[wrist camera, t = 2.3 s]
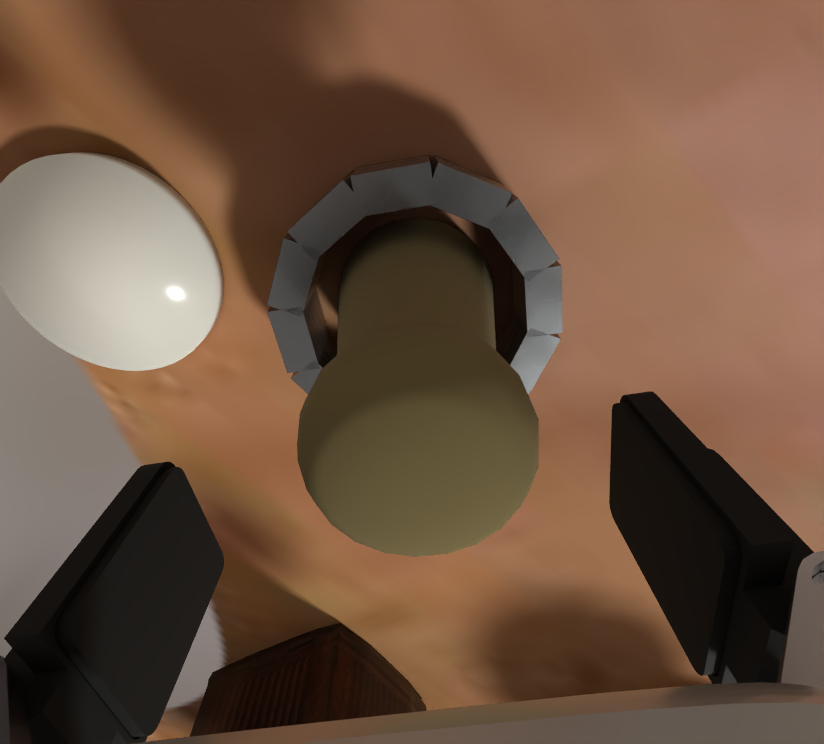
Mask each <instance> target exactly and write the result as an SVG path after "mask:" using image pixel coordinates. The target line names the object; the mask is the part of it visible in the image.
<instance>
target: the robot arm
mask: <svg viewBox="0 0 824 744" xmlns="http://www.w3.org/2000/svg"><path fill="white" fill-rule="evenodd" d="M609 502H610V509H611V513H612V516H613V519H614V521H615V523H616V524H617V526H618V528H619V530H620V532H621V534H622V536H623V538H624V539H625V541H626V543H627V545H628V547H629V549H630V551H631V552H632V554H633V556H634V558H635V560H636V562H637V564H638V566H639V567H640V569H641V571H642V573H643V575H644V577H645V579H646V580H647V582H648V584H649V586H650V588H651V590H652V592H653V593H654V595H655V597H656V599H657V601H658V603H659V605H660V607H661V608H662V610H663V612H664V614H665V616H666V618H667V620H668V621H669V623H670V625H671V627H672V629H673V631H674V633H675V635H676V636H677V638H678V640H679V642H680V644H681V646H682V648H683V649H684V651H685V653H686V655H687V657H688V659H689V661H690V663H691V664H692V666H693V668H694V669H695V671H696V672H697V673H698V674H699V675H701V676H702V675H708V677H709V679H710V680H711V682H712V684H703V685H691V686H679V687H667V688H655V689H643V690H631V691H619V692H607V693H596V694H586V695H576V696H567V697H557V698H547V699H537V700H527V701H518V702H508V703H498V704H488V705H478V706H469V707H459V708H449V709H439V710H430V711H421V712H411V713H402V714H393V715H383V716H374V717H365V718H355V719H346V720H337V721H328V722H318V723H309V724H300V725H291V726H282V727H272V728H263V729H254V730H245V731H237V732H228V733H219V734H210V735H202V736H193V737H184V738H175V739H166V740H158V741H149V742H145V741H146V739H147V736H149V735H151V734H152V733H153V732H154V731H155V730H156V728H157V726H158V724H159V722H160V720H161V717H162V715H163V713H164V710H165V708H166V705H167V703H168V700H169V698H170V696H171V693H172V691H173V688H174V686H175V684H176V681H177V679H178V676H179V674H180V672H181V669H182V667H183V664H184V662H185V660H186V657H187V655H188V652H189V650H190V648H191V645H192V642H193V640H194V638H195V636H196V633H197V631H198V628H199V626H200V623H201V621H202V619H203V616H204V614H205V611H206V609H207V607H208V604H209V602H210V599H211V597H212V595H213V592H214V590H215V587H216V585H217V583H218V580H219V578H220V575H221V573H222V570H223V566H224V557H223V553H222V551H221V549H220V546H219V544H218V542H217V540H216V538H215V536H214V534H213V532H212V530H211V528H210V526H209V523H208V521H207V519H206V517H205V515H204V513H203V511H202V509H201V507H200V505H199V503H198V500H197V498H196V496H195V494H194V492H193V490H192V488H191V486H190V484H189V482H188V480H187V478H186V475H185V473H184V472H183V470H182V469H181V468H179V467H175V465H174V464H172V463H171V462H163V463H156V464H149V465H144V466H141V467H140V468H138V469H137V471H136V472H135V473H134V474H133V476H132V477H131V478H130V480H129V481H128V482H127V483H126V485H125V486H124V487H123V488H122V490H121V491H120V492H119V493H118V495H117V496H116V497H115V498H114V500H113V501H112V502H111V504H110V505H109V506H108V507H107V509H106V510H105V511H104V512H103V514H102V515H101V516H100V518H99V519H98V520H97V521H96V523H95V524H94V525H93V526H92V528H91V529H90V530H89V531H88V533H87V534H86V535H85V536H84V538H83V539H82V540H81V542H80V543H79V544H78V545H77V547H76V548H75V549H74V550H73V552H72V553H71V554H70V555H69V557H68V558H67V559H66V561H65V562H64V563H63V564H62V566H61V567H60V568H59V569H58V571H57V572H56V573H55V574H54V576H53V577H52V578H51V580H50V581H49V582H48V583H47V585H46V586H45V587H44V589H43V590H42V591H41V592H40V593H39V595H38V596H37V597H36V599H35V600H34V601H33V602H32V604H31V605H30V606H29V607H28V609H27V610H26V611H25V613H24V614H23V615H22V616H21V618H20V619H19V620H18V621H17V623H16V624H15V625H14V627H13V628H12V629H11V630H10V632H9V633H8V634H7V635H6V637H5V638H4V639H5V640H6V641H7V642H8V643H9V644H10V646H11V647H12V649H11V651H10V652H9V653H8V655H7V656H6V657H5V658H4V657H2V656H0V744H824V551H821V552H816V553H814V552H813V551H812V550H811V549H810V548H809V547H808V546H807V545H806V544H805V543H804V542H803V541H802V540H801V538H800V537H799V536H798V535H797V534H796V533H795V532H794V531H793V530H792V529H791V528H790V527H789V526H788V525H787V524H786V523H785V522H784V521H783V520H782V519H781V518H780V517H779V516H778V515H777V514H776V513H775V512H774V511H773V510H772V509H771V508H770V506H769V505H768V504H767V503H766V502H765V501H764V500H763V499H762V498H761V497H760V496H759V495H758V494H757V493H756V492H755V491H754V490H753V489H752V488H751V487H750V486H749V485H748V484H747V483H746V482H745V481H744V480H743V479H742V478H741V477H740V475H739V474H738V473H737V472H736V471H735V470H734V469H733V468H732V467H731V466H730V465H729V464H728V463H727V462H726V461H725V460H724V459H723V458H722V457H721V456H720V455H719V454H718V453H716V452H715V451H714V450H711V449H708V448H707V447H706V446H705V445H704V444H703V443H702V442H701V441H700V440H699V439H698V438H697V437H696V436H695V435H694V434H693V433H692V432H691V431H690V430H689V429H688V427H687V426H686V425H685V424H684V423H683V422H682V421H681V420H680V419H679V418H678V417H677V416H676V415H675V414H674V413H673V412H672V411H671V410H670V409H669V407H668V406H667V405H666V404H665V403H664V402H663V401H662V400H661V399H660V398H659V397H658V396H657V395H656V394H655V393H654V392H643V393H636V394H629V395H623V396H622V397H621V400H620V403H616V404H614V405H613V407H612V430H611V465H610V499H609Z"/></svg>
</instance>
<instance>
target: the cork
mask: <svg viewBox="0 0 824 744" xmlns="http://www.w3.org/2000/svg"><path fill="white" fill-rule="evenodd" d="M297 451H298V463H299V466H300V469H301V473H302V476H303V479H304V482H305V486H306V489H307V491H308V492H309V494H310V496H311V497H312V499H313V500H314V502H315V503H316V505H317V506H318V507H319V509H320V510H321V511H322V513H323V514H324V515H325V517H326V518H327V519H328V521H329V522H330V523H331V524H332V525H333V526H334V527H336V528H337V529H338V530H340V531H341V532H343V533H344V534H345V535H347V536H348V537H350V538H351V539H352V540H354V541H355V542H358V543H360V544H363V545H365V546H368V547H371V548H373V549H376V550H379V551H381V552H384V553H391V554H399V555H406V556H414V557H417V556H428V555H440V554H448V553H451V552H454V551H457V550H460V549H463V548H466V547H469V546H472V545H476V544H477V543H479V542H480V541H482V540H484V539H485V538H487V537H488V536H490V535H492V534H493V533H495V532H496V531H498V530H499V529H501V528H502V527H503V526H504V524H505V523H506V522H507V521H508V520H509V519H510V518H511V517H512V515H513V514H514V513H515V512H516V511H517V510H518V509H519V507H520V506H521V504H522V502H523V501H524V499H525V497H526V496H527V494H528V491H529V489H530V486H531V484H532V481H533V479H534V476H535V474H536V471H537V469H538V417H537V415H536V413H535V410H534V408H533V406H532V403H531V401H530V398H529V396H528V394H527V391H526V389H525V387H524V384H523V382H522V380H521V377H520V375H519V374H518V373H517V372H516V371H515V370H514V369H513V368H512V367H511V366H510V365H509V364H508V363H507V362H506V360H505V359H504V358H503V357H502V356H501V355H500V354H499V353H498V352H497V351H496V340H495V322H494V303H493V284H492V275H491V272H490V270H489V267H488V265H487V262H486V260H485V257H484V255H483V253H482V252H481V251H480V250H479V249H478V248H477V246H476V245H475V244H474V243H473V242H472V241H471V240H470V238H469V237H468V236H467V235H465V234H464V233H462V232H460V231H458V230H457V229H455V228H453V227H451V226H450V225H448V224H446V223H444V222H439V221H434V220H429V219H424V218H411V219H404V220H396V221H392V222H390V223H388V224H386V225H384V226H382V227H380V228H378V229H376V230H373V231H371V232H370V233H369V234H368V235H367V236H366V237H365V238H364V239H363V240H362V241H361V242H360V243H359V244H358V245H357V246H356V247H355V248H354V249H353V250H352V251H351V253H350V255H349V257H348V259H347V261H346V263H345V265H344V268H343V270H342V272H341V279H340V287H339V298H338V338H337V356H336V357H335V358H333V359H332V360H331V361H330V362H329V363H328V364H327V365H326V366H325V367H324V368H322V369H321V371H320V373H319V375H318V377H317V378H316V380H315V382H314V384H313V386H312V388H311V390H310V392H309V394H308V396H307V398H306V400H305V402H304V405H303V407H302V410H301V412H300V419H299V430H298V441H297Z"/></svg>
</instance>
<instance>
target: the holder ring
mask: <svg viewBox="0 0 824 744" xmlns="http://www.w3.org/2000/svg"><path fill="white" fill-rule="evenodd" d="M427 205H431V206H433V207H436V208H438V209H441V210H443V211H446V212H448V213H451V214H453V215H456V216H458V217H461V218H463V219H466V220H468V221H471V222H473V223H476V224H478V225H481V226H484V227H486V228H489V229H490V230H491V232H492V233H493V235H494V236H495V237H496V239H497V240H498V241H499V243H500V244H501V246H502V247H503V248H504V250H505V251H506V252H507V254H508V255H509V257H510V258H511V267H512V282H513V297H514V308H513V310H512V312H511V314H510V316H509V318H508V320H507V322H506V324H505V326H504V328H503V330H502V332H501V334H500V336H499V338H498V340H497V342H496V351H497V352H498V353H499V354H500V355H501V356H502V357H503V358H504V359H505V360H506V362H507V363H508V364H509V365H510V366H511V367H512V368H513V369H514V370H515V371H516V372H517V373H518V374H519V375H520V377H521V380H522V382H523V384H524V387H525V389H526V391H527V393H528V394H529V393H530V391H531V390H532V388H533V386H534V384H535V383H536V381H537V379H538V378H539V376H540V374H541V372H542V371H543V369H544V367H545V365H546V364H547V362H548V360H549V359H550V357H551V355H552V353H553V352H554V350H555V348H556V346H557V345H558V343H559V341H560V337H559V336H558V334H557V333H562V270H561V265H560V264H559V263H558V262H557V260H558V259H559V258H558V256H557V255H556V253H555V252H554V250H553V249H552V247H551V246H550V244H549V243H548V241H547V240H546V238H545V237H544V235H543V234H542V232H541V231H540V230H539V228H538V227H537V225H536V224H535V222H534V221H533V219H532V218H531V216H530V215H529V213H528V212H527V210H526V209H525V207H524V206H523V204H522V203H521V202H520V200H519V199H518V198H517V197H516V196H515V195H514V194H513V193H511V192H510V191H509V190H508V189H506V188H505V187H504V186H503V185H502V184H500V183H499V182H497V181H494V180H492V179H490V178H487V177H485V176H482V175H480V174H478V173H475V172H473V171H470V170H468V169H466V168H463V167H461V166H458V165H456V164H454V163H451V162H449V161H446V160H444V159H442V158H439V157H437V156H435V157H434V160H433V163H432V165H431V164H430V160H429V157H428V155H425V156H420V157H414V158H408V159H403V160H397V161H392V162H386V163H381V164H375V165H369V166H364V167H359V168H358V169H357V170H356V171H355V172H353V171H351V172H350V173H349V174H348V175H347V176H346V177H345V178H344V179H343V180H342V181H341V182H340V183H339V184H337V185H336V186H335V187H334V188H333V189H332V190H331V191H330V192H329V193H328V194H327V195H326V196H325V197H324V198H322V199H321V200H320V201H319V202H318V203H317V204H316V205H315V206H314V207H313V208H312V209H311V210H310V211H308V212H307V213H306V214H305V215H304V216H303V217H302V218H301V219H300V220H299V221H298V222H297V223H296V224H295V225H294V226H293V227H292V228H290V229H289V230H288V231H287V232H288V234H287V235H286V236H285V237H284V238H283V242H282V246H281V250H280V254H279V258H278V263H277V267H276V271H275V275H274V279H273V283H272V287H271V291H270V295H269V299H268V303H267V305H268V306H271V308H270V309H269V310H268V315H269V318H270V321H271V325H272V328H273V331H274V334H275V337H276V340H277V343H278V346H279V349H280V352H281V355H282V358H283V361H284V364H285V367H286V370H287V373H291V372H294V373H293V375H292V377H291V379H292V380H293V381H294V382H295V383H297V384H298V385H299V386H300V387H301V388H302V389H303V390H304V391H305V392H306V393H307V394H309V392H310V390H311V388H312V386H313V384H314V382H315V380H316V378H317V377H318V375H319V373H320V371H321V369H322V368H324V367H325V366H326V365H327V364H328V363H329V362H330V361H331V360H332V359H333V358H335V357H336V356H337V343H336V342H335V341H334V340H333V339H332V338H331V337H330V336H329V334H328V330H327V326H326V323H325V319H324V315H323V312H322V308H321V304H320V301H319V297H318V293H317V290H316V287H317V283H318V280H319V277H320V273H321V270H322V266H323V263H324V259H325V256H326V253H327V249H328V248H330V247H331V246H332V245H333V244H334V243H335V242H336V241H337V240H339V239H340V238H341V237H342V236H343V235H344V234H345V233H347V232H348V231H349V230H350V229H351V228H352V227H353V226H355V225H356V224H357V223H358V222H359V221H360V220H361V219H362V218H364V217H365V216H369V215H375V214H380V213H386V212H392V211H398V210H404V209H410V208H415V207H421V206H427Z"/></svg>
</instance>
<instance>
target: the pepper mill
mask: <svg viewBox="0 0 824 744" xmlns="http://www.w3.org/2000/svg"><path fill="white" fill-rule="evenodd" d="M421 711H426V706H425V704H424V703H423V701H422V700H421V698H420V697H419V696H418V694H417V693H416V691H415V690H414V689H413V687H412V686H411V685H410V683H409V682H408V681H407V680H406V679H405V678H404V677H403V676H402V675H401V674H400V673H399V672H398V671H397V670H396V669H395V668H394V667H393V666H392V665H391V664H389V663H388V662H387V661H386V660H385V659H384V658H383V657H382V656H381V655H380V654H379V653H378V652H377V651H376V650H375V649H374V648H373V647H372V646H371V645H370V644H368V643H367V642H365V641H364V640H363V639H361V638H360V637H358V636H357V635H356V634H354V633H353V632H351V631H350V630H349V629H347V628H346V627H345V626H343V625H342V624H336V625H331V626H327V627H323V628H319V629H315V630H313V631H310V632H307V633H305V634H302V635H299V636H297V637H294V638H292V639H289V640H287V641H284V642H281V643H279V644H276V645H274V646H271V647H269V648H266V649H264V650H261V651H259V652H257V653H255V654H252V655H250V656H248V657H246V658H243V659H241V660H239V661H237V662H235V663H232V664H230V665H228V666H226V667H224V668H221V669H219V670H217V671H215V672H213V673H212V675H211V676H210V678H209V681H208V686H207V689H206V692H205V695H204V698H203V701H202V703H201V706H200V709H199V712H198V715H197V718H196V721H195V723H194V726H193V729H192V732H191V734H190V737H193V736H202V735H210V734H219V733H228V732H237V731H245V730H254V729H263V728H272V727H282V726H291V725H300V724H309V723H318V722H328V721H337V720H346V719H355V718H365V717H374V716H383V715H393V714H402V713H411V712H421Z"/></svg>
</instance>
